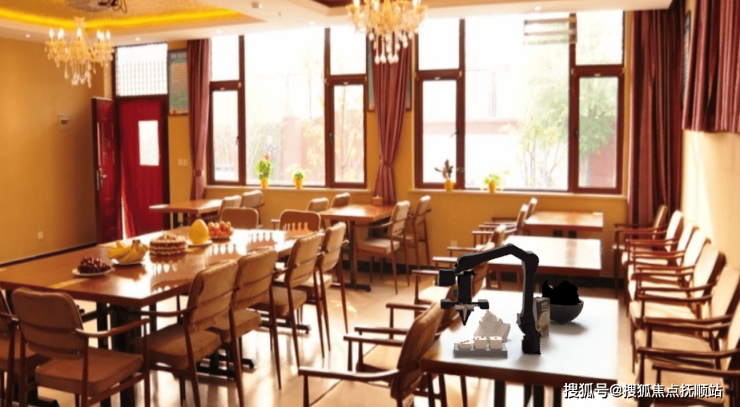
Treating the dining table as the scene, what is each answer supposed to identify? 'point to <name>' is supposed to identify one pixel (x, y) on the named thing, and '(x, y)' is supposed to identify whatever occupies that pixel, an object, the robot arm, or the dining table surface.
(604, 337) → the dining table surface
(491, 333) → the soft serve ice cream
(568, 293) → the coal bowl
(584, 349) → the dining table surface
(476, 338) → the key two dots
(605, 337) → the dining table surface
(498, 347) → the key one dot
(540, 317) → the coffee box
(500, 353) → the key board
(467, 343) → the key three dots
